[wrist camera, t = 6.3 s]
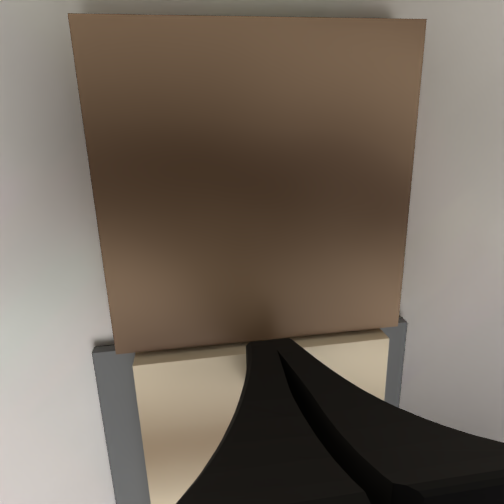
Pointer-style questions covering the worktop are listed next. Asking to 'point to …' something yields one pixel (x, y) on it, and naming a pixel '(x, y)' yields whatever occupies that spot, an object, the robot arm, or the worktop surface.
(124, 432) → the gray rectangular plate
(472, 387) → the worktop surface
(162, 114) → the panel
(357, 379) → the birch coaster
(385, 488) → the robot arm
